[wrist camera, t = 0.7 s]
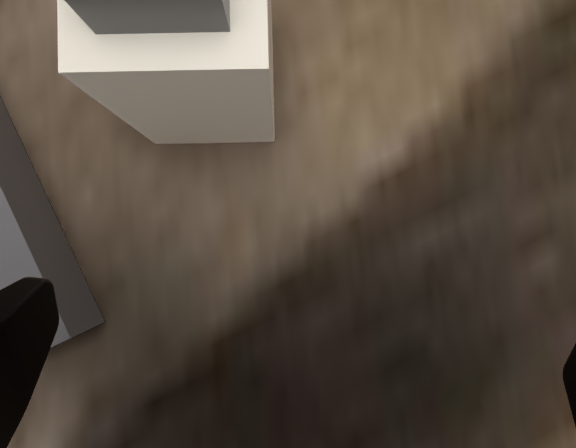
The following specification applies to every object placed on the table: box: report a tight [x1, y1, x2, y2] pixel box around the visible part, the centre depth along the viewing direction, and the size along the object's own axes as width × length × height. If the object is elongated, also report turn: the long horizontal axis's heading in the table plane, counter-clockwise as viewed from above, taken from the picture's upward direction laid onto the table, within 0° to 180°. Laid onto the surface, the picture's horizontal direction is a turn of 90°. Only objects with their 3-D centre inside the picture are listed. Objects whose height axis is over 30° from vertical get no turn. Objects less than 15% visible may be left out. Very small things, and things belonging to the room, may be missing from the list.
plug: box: [57, 0, 275, 144], centre depth 15 cm, size 5×5×13 cm
